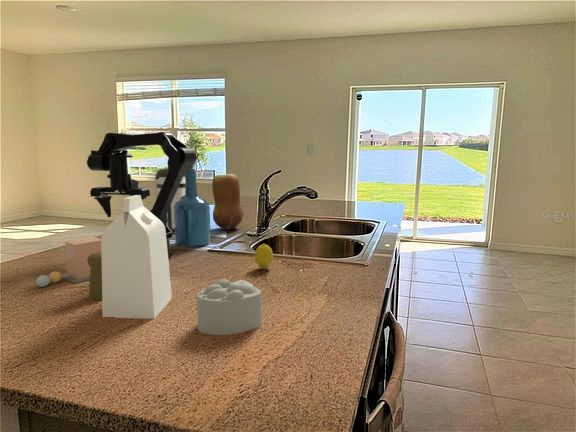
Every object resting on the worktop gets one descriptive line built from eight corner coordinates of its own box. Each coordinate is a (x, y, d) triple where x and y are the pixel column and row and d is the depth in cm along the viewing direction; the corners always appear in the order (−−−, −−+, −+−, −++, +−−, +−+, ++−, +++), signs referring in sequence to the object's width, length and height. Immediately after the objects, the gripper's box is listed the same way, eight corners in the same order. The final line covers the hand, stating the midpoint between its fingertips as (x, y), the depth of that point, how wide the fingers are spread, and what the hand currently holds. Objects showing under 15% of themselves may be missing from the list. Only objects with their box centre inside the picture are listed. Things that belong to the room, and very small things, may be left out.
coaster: (98, 267, 123) (98, 266, 123) (113, 273, 118) (113, 272, 118) (60, 276, 115) (60, 275, 115) (74, 283, 109) (74, 282, 109)
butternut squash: (218, 225, 188) (217, 172, 184) (246, 226, 186) (245, 172, 182) (208, 232, 174) (207, 174, 170) (238, 233, 173) (237, 175, 168)
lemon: (276, 267, 124) (276, 242, 123) (267, 272, 119) (267, 246, 118) (260, 265, 127) (260, 240, 125) (251, 270, 122) (251, 244, 120)
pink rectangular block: (96, 269, 121) (93, 236, 119) (105, 273, 117) (103, 239, 116) (68, 275, 115) (65, 241, 113) (77, 279, 111) (74, 244, 110)
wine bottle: (216, 245, 152) (214, 165, 147) (182, 250, 145) (178, 166, 139) (202, 238, 163) (199, 164, 158) (170, 242, 156) (166, 164, 151)
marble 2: (64, 280, 112) (63, 270, 111) (56, 284, 109) (55, 273, 108) (54, 280, 112) (53, 269, 111) (46, 283, 109) (45, 273, 109)
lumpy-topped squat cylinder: (266, 326, 84) (266, 287, 83) (206, 341, 78) (204, 298, 76) (246, 309, 93) (246, 273, 92) (191, 320, 87) (189, 282, 85)
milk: (126, 297, 100) (118, 193, 95) (171, 298, 99) (166, 193, 95) (102, 317, 88) (93, 200, 83) (154, 318, 88) (147, 200, 83)
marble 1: (52, 284, 108) (51, 274, 108) (44, 288, 105) (43, 277, 105) (42, 284, 109) (41, 273, 108) (34, 287, 106) (33, 277, 105)
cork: (88, 301, 97) (85, 257, 95) (88, 293, 102) (84, 251, 100) (116, 297, 99) (112, 254, 98) (114, 289, 105) (111, 249, 103)
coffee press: (188, 234, 171) (185, 163, 165) (150, 233, 171) (146, 162, 166) (197, 225, 188) (195, 161, 182) (163, 225, 188) (160, 161, 183)
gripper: (156, 170, 140) (159, 214, 142) (107, 169, 143) (111, 212, 145) (139, 172, 129) (142, 220, 131) (87, 171, 132) (91, 218, 135)
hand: (121, 217), depth 136 cm, fingers open, 9 cm apart
